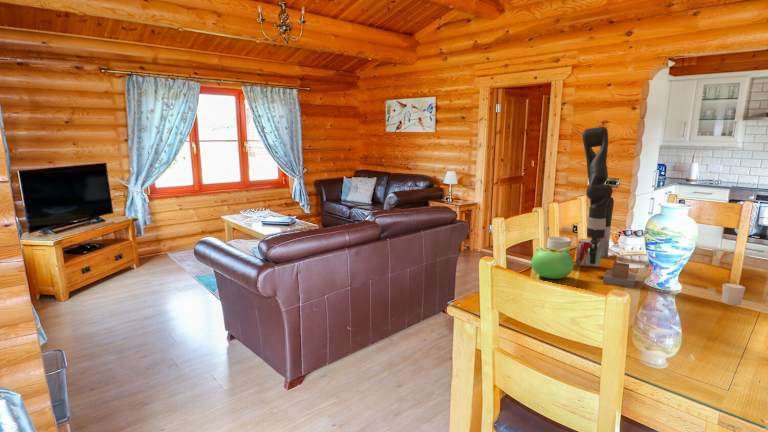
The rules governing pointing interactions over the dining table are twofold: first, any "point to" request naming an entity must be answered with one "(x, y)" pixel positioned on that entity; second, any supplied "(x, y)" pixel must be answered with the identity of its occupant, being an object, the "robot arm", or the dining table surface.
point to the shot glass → (732, 293)
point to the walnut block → (620, 269)
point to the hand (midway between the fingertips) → (593, 262)
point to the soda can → (582, 252)
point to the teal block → (598, 255)
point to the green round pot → (552, 262)
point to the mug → (559, 243)
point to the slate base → (619, 279)
